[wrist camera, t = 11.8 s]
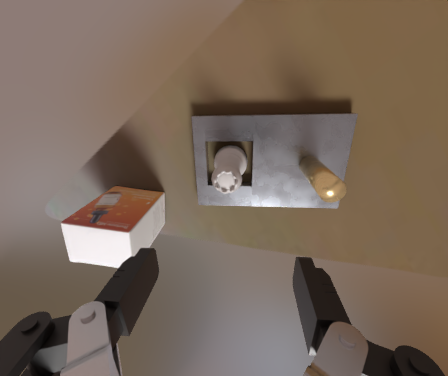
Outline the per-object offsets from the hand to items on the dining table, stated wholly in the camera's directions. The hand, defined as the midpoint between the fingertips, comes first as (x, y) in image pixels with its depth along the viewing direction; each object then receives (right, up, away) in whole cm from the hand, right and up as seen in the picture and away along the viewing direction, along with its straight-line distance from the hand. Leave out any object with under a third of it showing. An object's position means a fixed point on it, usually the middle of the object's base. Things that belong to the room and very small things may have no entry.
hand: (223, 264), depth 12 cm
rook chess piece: (+1, +8, +17) cm, 19 cm away
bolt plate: (+6, +8, +16) cm, 19 cm away
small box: (-13, +2, +21) cm, 25 cm away
